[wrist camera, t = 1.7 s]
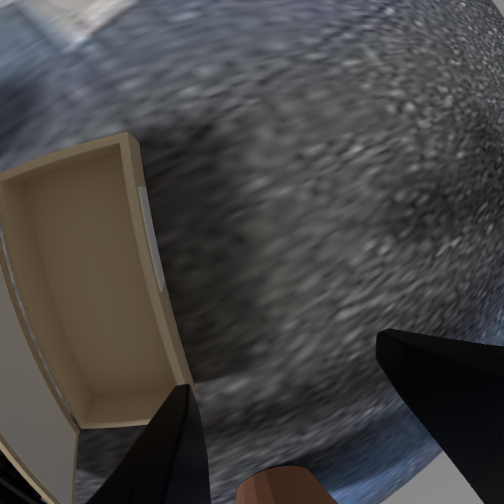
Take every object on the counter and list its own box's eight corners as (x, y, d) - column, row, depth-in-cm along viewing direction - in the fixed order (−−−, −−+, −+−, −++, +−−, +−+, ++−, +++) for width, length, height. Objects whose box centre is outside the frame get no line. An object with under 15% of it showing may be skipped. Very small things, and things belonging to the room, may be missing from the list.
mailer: (195, 384, 22) (198, 417, 18) (92, 397, 20) (81, 428, 17) (140, 142, 18) (129, 130, 14) (24, 176, 16) (-6, 175, 12)
